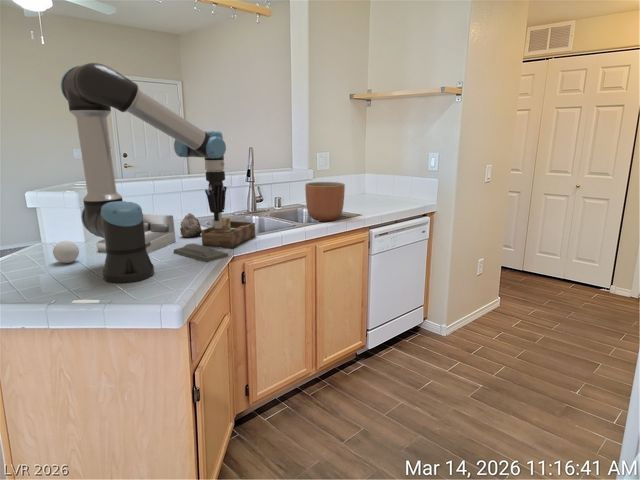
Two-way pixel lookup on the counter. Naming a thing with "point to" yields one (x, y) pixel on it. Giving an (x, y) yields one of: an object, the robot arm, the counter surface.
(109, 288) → the counter surface
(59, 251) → the ball
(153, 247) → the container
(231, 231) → the trap box
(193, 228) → the rock
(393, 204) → the counter surface
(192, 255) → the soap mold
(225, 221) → the block
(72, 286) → the counter surface
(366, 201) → the counter surface
